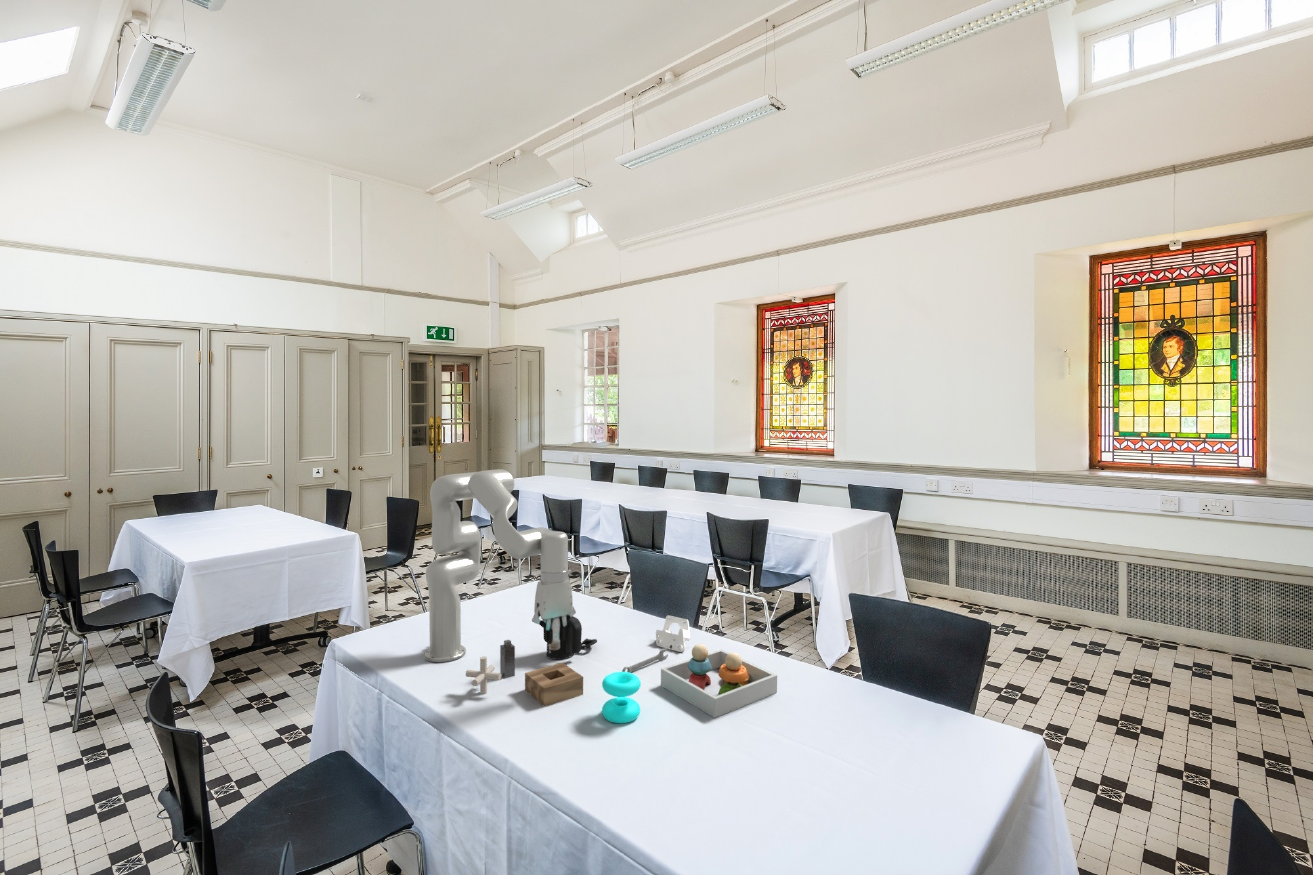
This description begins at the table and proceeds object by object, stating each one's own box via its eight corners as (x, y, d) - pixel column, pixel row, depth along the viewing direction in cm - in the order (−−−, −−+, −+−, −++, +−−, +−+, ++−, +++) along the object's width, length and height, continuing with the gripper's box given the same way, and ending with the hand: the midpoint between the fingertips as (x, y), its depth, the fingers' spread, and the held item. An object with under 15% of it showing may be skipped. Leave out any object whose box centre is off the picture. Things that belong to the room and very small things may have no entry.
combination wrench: (623, 667, 180) (669, 647, 195) (620, 666, 181) (667, 646, 195) (623, 679, 181) (669, 659, 195) (621, 678, 182) (667, 658, 196)
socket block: (524, 690, 172) (524, 672, 171) (562, 679, 179) (562, 662, 179) (544, 706, 162) (544, 688, 162) (583, 694, 169) (583, 676, 169)
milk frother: (539, 657, 195) (540, 611, 194) (565, 640, 209) (565, 598, 209) (578, 664, 189) (578, 618, 189) (602, 646, 204) (602, 603, 203)
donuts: (646, 682, 155) (609, 689, 151) (646, 720, 155) (609, 728, 151) (632, 667, 164) (597, 673, 160) (632, 703, 165) (596, 710, 161)
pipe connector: (491, 702, 164) (491, 666, 164) (458, 698, 166) (457, 663, 166) (507, 686, 174) (507, 652, 173) (476, 683, 176) (475, 649, 175)
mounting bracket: (690, 654, 203) (697, 621, 206) (681, 652, 198) (689, 619, 202) (660, 646, 210) (667, 615, 213) (651, 644, 205) (658, 612, 208)
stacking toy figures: (756, 680, 180) (756, 638, 180) (743, 706, 164) (744, 661, 163) (698, 670, 186) (698, 630, 186) (680, 694, 170) (681, 651, 170)
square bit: (500, 674, 182) (500, 640, 181) (510, 672, 183) (510, 638, 183) (504, 678, 179) (504, 643, 178) (514, 675, 181) (514, 641, 180)
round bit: (546, 647, 170) (546, 610, 170) (556, 644, 172) (556, 608, 172) (551, 651, 168) (551, 613, 167) (562, 648, 170) (562, 611, 169)
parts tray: (660, 685, 176) (661, 668, 175) (720, 665, 190) (721, 649, 190) (715, 717, 157) (715, 698, 157) (776, 692, 172) (777, 675, 172)
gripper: (573, 569, 177) (573, 630, 178) (521, 578, 167) (521, 643, 168) (586, 574, 171) (586, 638, 172) (533, 584, 161) (533, 652, 162)
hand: (554, 640), depth 170 cm, fingers closed on round bit, 3 cm apart
